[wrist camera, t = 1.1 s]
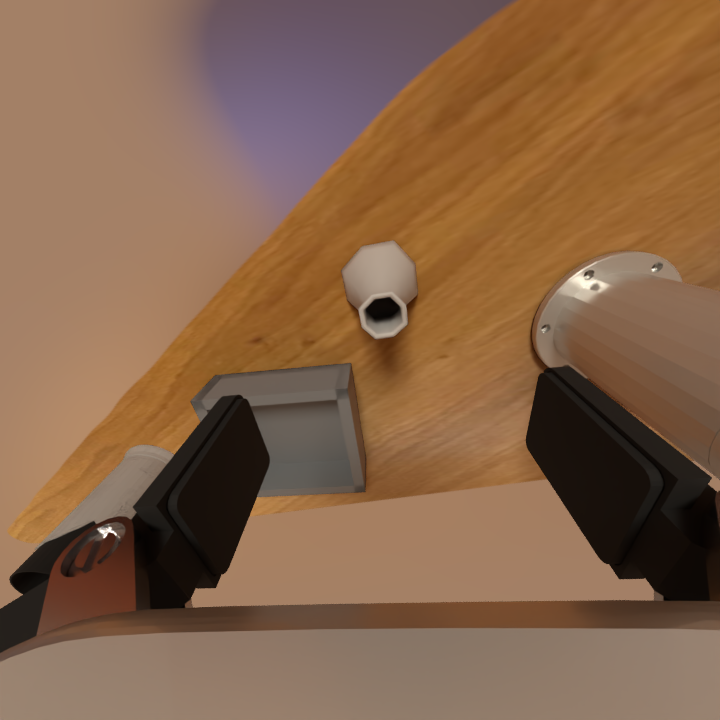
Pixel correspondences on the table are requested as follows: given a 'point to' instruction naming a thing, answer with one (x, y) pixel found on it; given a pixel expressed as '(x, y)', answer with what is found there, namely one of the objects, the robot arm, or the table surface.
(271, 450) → the charcoal box
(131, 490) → the grey mug
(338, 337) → the table surface
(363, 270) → the flask
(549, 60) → the table surface
